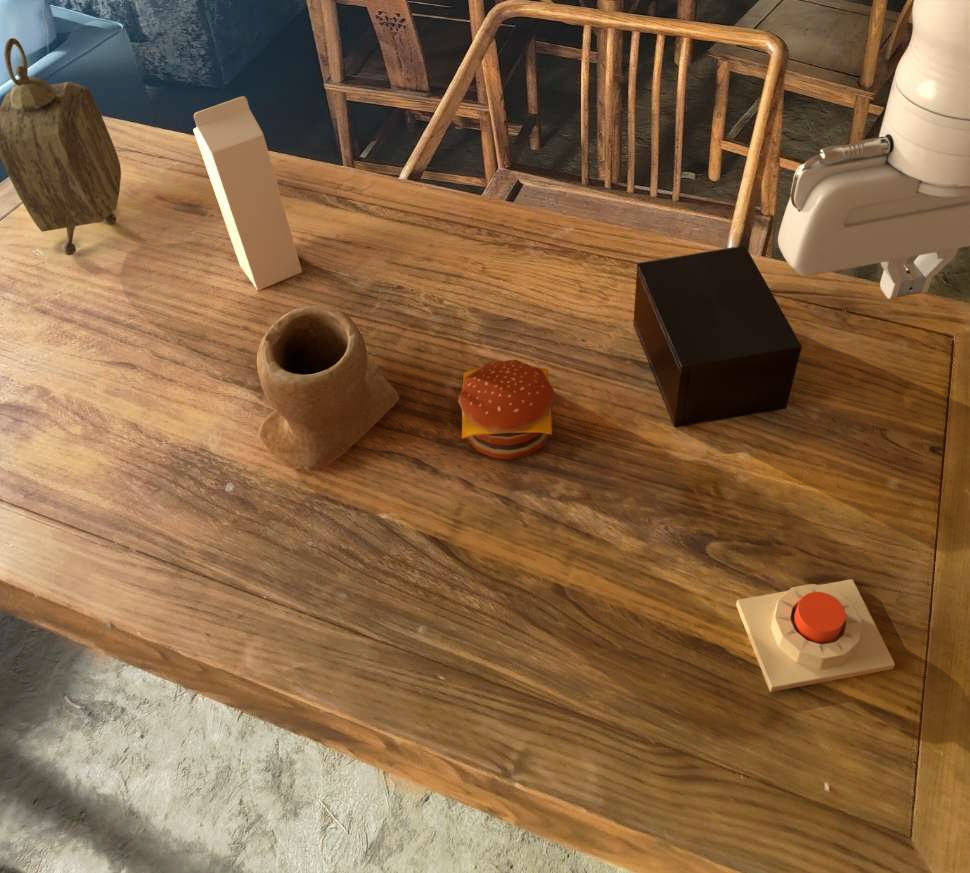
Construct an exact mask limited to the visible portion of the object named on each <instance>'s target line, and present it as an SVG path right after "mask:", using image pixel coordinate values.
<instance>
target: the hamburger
mask: <svg viewBox="0 0 970 873" xmlns="http://www.w3.org/2000/svg"><path fill="white" fill-rule="evenodd" d="M462 376H463V377H462V388H461V391H460V394H459V395H458V399H457V403H458V405H459V408H460V409H461V439H462V440H463V439H467V441H468V442H469V444H471V445H472V447H473V448H474V449H475V450H476V451H477V452H479V453H481V454H483V455H486V456H487V457H489V458H492V459H500V460H514V459H520V458H523V457H528V456H530V455H531V454H533V453H535V452H536V451H539V449H542V447H543V446H544V445H545V444H546V442H547V441H548V439H549V438H550V437H551V435H553V427H554V416H553V410H554V409H553V407H554V402H553V401H554V398H555V395H556V391H555V390H554V387H553V386H552V384H551V383H550V378H549V368H547V367H546V368H545V367H540V366H533V365H532V364H528V363H526V362H523V361H520V360H518V359H511V360H501V361H500V360H499V361H489V362H487V363H486V364H484V365H482V366H481V367H480V368H478V369H473V370H469V371H466V372H464V373H463V375H462Z"/></svg>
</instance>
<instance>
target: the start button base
mask: <svg viewBox="0 0 970 873" xmlns="http://www.w3.org/2000/svg"><path fill="white" fill-rule="evenodd" d="M812 592H823V593H827V594H829V595H831V596H833V597H835V598H836V599H837V600H838V601H839V602H840V603H841V604H842V606H843V607H844V610H845V615H846V617H845V622H844V624H843V626H842V629H841V631H840V633H839V635H838V636H837V637H836V638H835V639H834V640H832V641H829V642H825V643H819V642H814V641H811V640H808V639H807V638H805V637H804V636H802V635H801V634H800V633H799V631H798V630H797V628H796V626H795V624H794V614H795V611H796V608H797V606H798V603H799V601H800V599H801V598H802V597H803V596H804V595H806V594H808V593H812ZM735 606H736V608H737V611H738V614H739V616H740V619H741V621H742V624H743V627H744V629H745V632H746V634H747V636H748V640H749V642H750V644H751V647H752V651H753V653H754V655H755V657H756V660H757V662H758V665H759V667H760V670H761V672H762V675H763V678H764V680H765V684H766V685H767V688H768V690H769V692H771V693H773V692H777V691H783V690H784V691H785V690H788V689H793V688H799V687H804V686H809V685H816V684H820V683H821V684H822V683H826V682H832V681H836V680H842V679H848V678H853V677H859V676H863V675H864V676H865V675H869V674H874V673H880V672H885V671H890V670H893V669H894V668H895V666H896V663H895V661H894V659H893V657H892V654H891V653H890V652H889V649H888V647H887V645H886V643H885V641H884V638H883V637H882V635H881V633H880V631H879V629H878V627H877V625H876V623H875V621H874V619H873V617H872V615H871V612H870V611H869V609H868V607H867V605H866V603H865V601H864V599H863V597H862V595H861V593H860V591H859V589H858V586H857V585H856V583H855V581H854V579H846V580H839V581H835V582H829V583H824V584H815V583H809V584H805V585H799V586H793V587H790V589H789V590H785V591H780V592H773V593H768V594H763V595H757V596H751V597H747V598H740V599H737V600H736V603H735Z"/></svg>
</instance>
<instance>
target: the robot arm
mask: <svg viewBox="0 0 970 873" xmlns="http://www.w3.org/2000/svg"><path fill="white" fill-rule="evenodd" d="M911 16H912V17H911V18H912V33H911V38H910V41H909V44H908V46H907V48H906V49H905V51H904V53H903V55H902V56H901V58H900V60H899V61H898V63H897V66H896V69H895V72H894V76H893V80H892V84H891V88H890V90H889V91H890V92H889V95H888V100H887V103H886V107H885V111H884V115H883V118H882V122H881V126H880V130H879V133H878V137H873V138H866V139H862V140H859V141H856V142H852V143H850V144H849V143H848V144H843V145H841V144H834V145H829V146H826V147H822V148H820V149H819V150H818V153H817V154H816V155H814V156H812V157H811V158H809V159H807V160H806V161H805V162H803V163H802V164H801V165H799V166H798V167H797V168H796V170H795V172H794V175H793V178H792V183H791V189H790V197H789V200H788V202H787V205H786V208H785V210H784V214H783V217H782V220H781V223H780V228H779V230H778V236H777V245H778V248H779V250H780V252H781V255H782V256H783V258H784V259H785V261H786V263H787V264H788V265H789V267H790V268H791V269H792V270H794V271H795V273H797V274H798V275H799V276H800V277H810V276H815V275H821V274H827V273H832V272H838V271H842V270H847V269H848V270H849V269H853V268H860V267H864V266H870V265H875V264H880V265H881V268H882V270H883V272H882V275H881V278H880V282H879V287H880V290H881V292H882V293H883V295H884V296H885V297H886V299H889V300H891V299H897V298H901V297H906V296H907V297H908V296H913V295H919V294H923V293H927V292H928V291H929V288H930V285H931V283H932V280H933V278H934V277H935V276H936V275H937V274H939V273H940V272H941V270H943V269H944V268H945V267H946V266H947V265H948V264H949V263H950V262H951V261H952V260H953V259H954V258H956V256H957V253H958V250H959V249H961V248H966V247H967V248H968V247H970V0H913V4H912V15H911ZM913 257H916V259H914V261H913V262H910V263H908V260H909V258H913Z"/></svg>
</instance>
